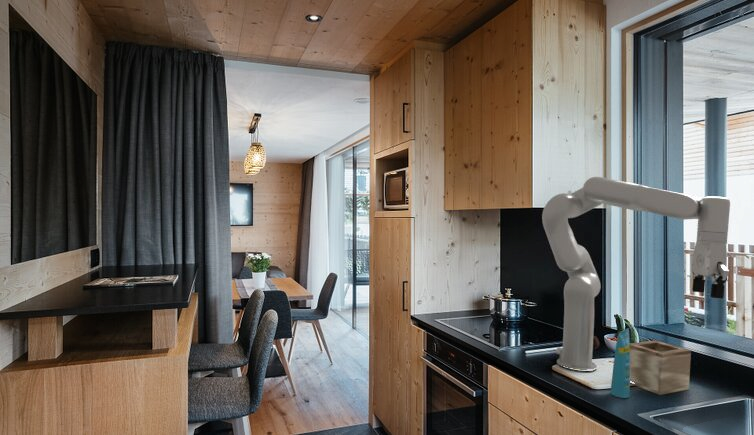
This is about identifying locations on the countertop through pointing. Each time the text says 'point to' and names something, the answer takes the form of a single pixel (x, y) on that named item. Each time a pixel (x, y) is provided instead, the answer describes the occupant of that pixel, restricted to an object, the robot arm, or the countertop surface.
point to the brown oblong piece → (595, 343)
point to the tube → (621, 366)
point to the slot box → (659, 367)
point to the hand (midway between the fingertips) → (707, 294)
